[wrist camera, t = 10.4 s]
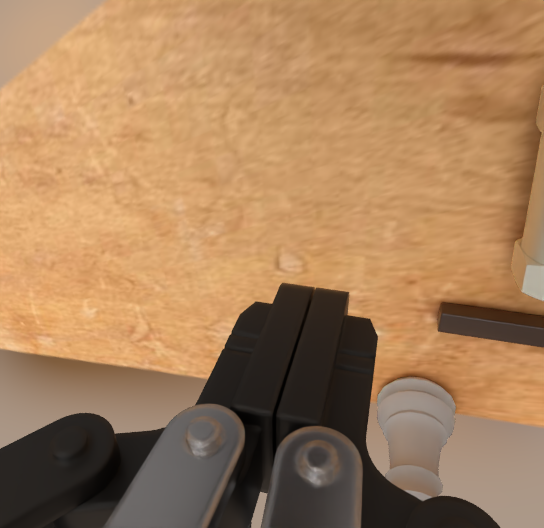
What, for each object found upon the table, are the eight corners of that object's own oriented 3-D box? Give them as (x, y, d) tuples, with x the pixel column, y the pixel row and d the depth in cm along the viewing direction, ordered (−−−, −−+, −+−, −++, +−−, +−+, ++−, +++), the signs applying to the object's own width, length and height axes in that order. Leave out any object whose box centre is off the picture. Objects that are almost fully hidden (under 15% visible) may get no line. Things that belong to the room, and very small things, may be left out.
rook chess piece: (421, 436, 30) (420, 568, 24) (362, 399, 30) (344, 524, 23) (472, 400, 27) (486, 539, 21) (408, 360, 27) (402, 488, 21)
